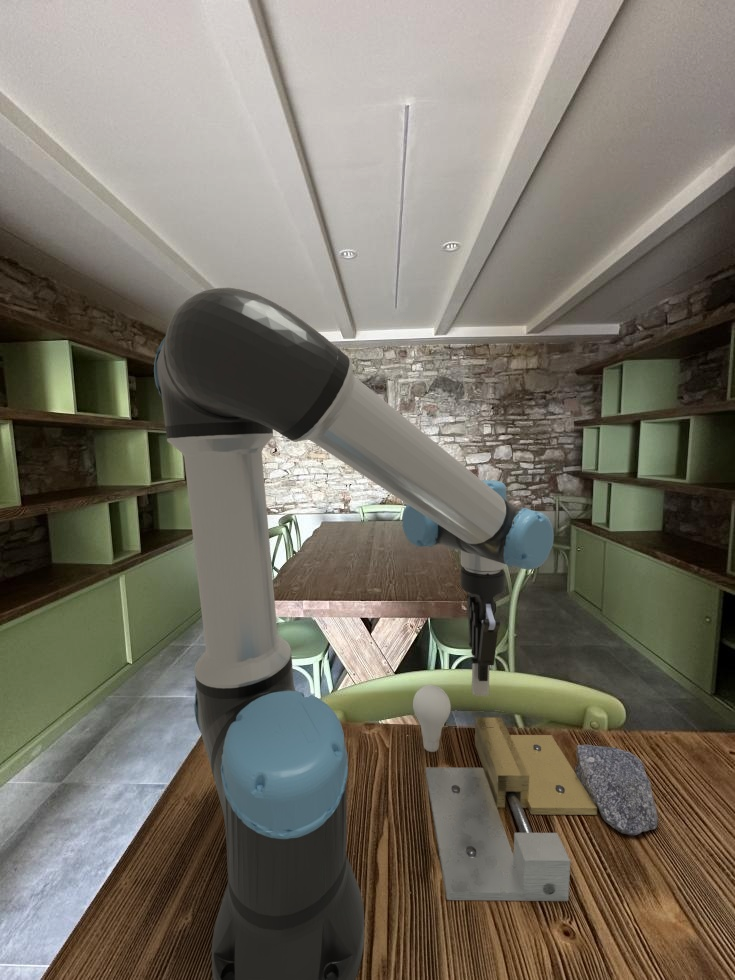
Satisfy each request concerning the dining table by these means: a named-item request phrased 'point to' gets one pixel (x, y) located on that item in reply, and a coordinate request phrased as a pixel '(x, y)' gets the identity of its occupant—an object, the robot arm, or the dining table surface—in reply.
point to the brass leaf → (530, 771)
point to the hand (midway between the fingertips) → (480, 692)
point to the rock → (617, 787)
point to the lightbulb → (431, 714)
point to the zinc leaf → (491, 844)
